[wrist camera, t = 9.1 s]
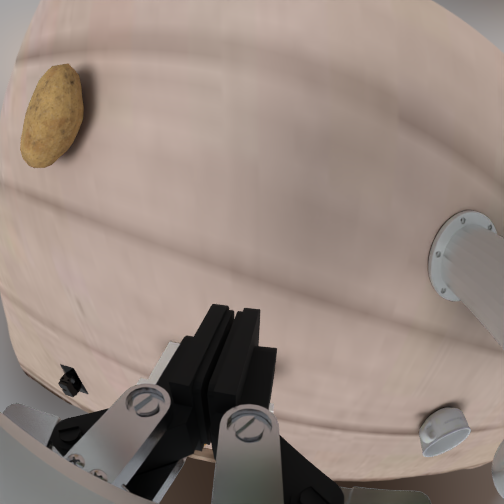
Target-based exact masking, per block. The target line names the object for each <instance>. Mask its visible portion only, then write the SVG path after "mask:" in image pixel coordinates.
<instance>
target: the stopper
mask: <svg viewBox="0 0 504 504" xmlns="http://www.w3.org/2000/svg"><path fill="white" fill-rule="evenodd" d="M187 457H191V458H195V459H200V460H205V461H209V462H214V463H216V460H215V459H214V455H213V450H212V449H207V448H203V450H202V451H198V450H195V452H194V454H192V455H190V456H187Z"/></svg>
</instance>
